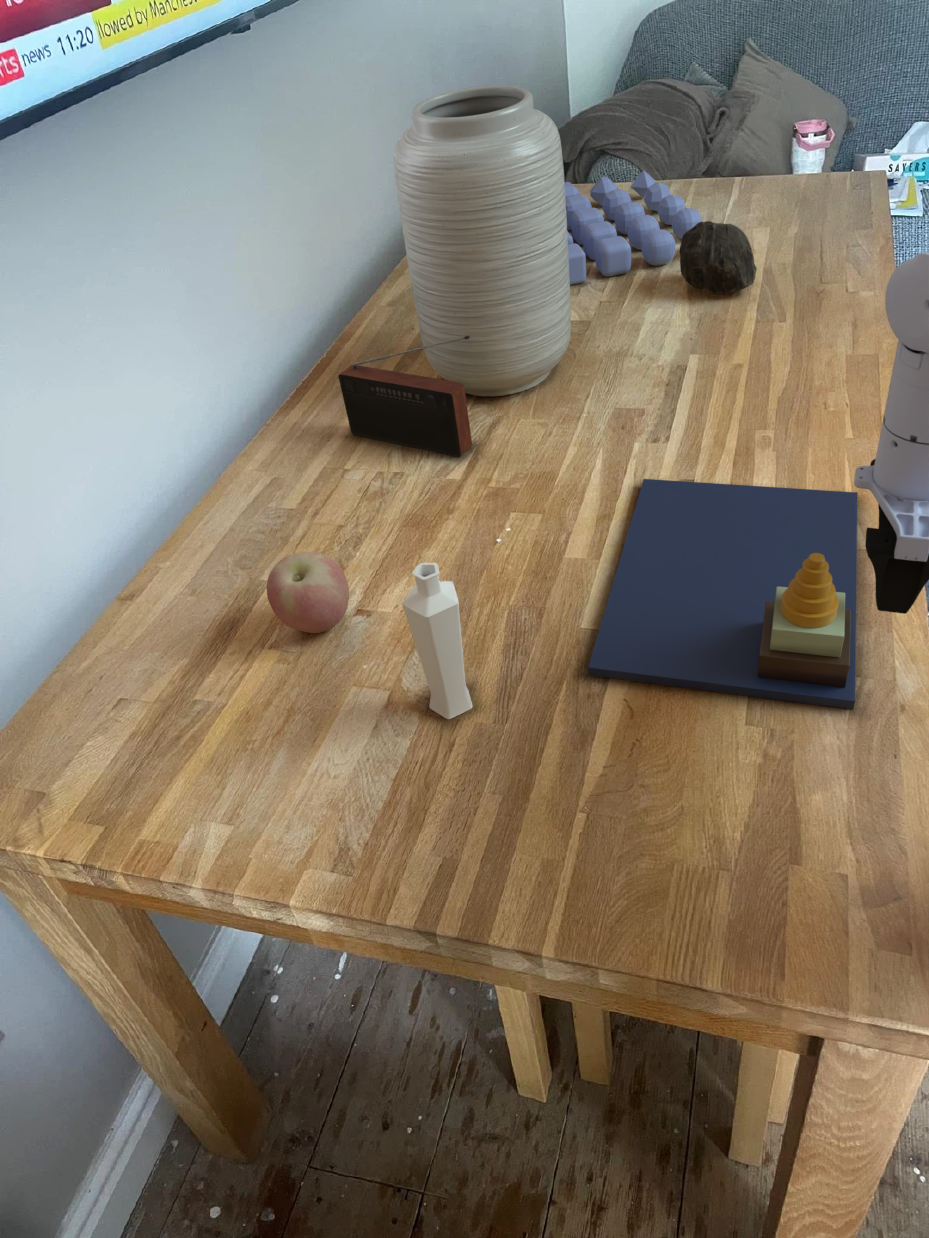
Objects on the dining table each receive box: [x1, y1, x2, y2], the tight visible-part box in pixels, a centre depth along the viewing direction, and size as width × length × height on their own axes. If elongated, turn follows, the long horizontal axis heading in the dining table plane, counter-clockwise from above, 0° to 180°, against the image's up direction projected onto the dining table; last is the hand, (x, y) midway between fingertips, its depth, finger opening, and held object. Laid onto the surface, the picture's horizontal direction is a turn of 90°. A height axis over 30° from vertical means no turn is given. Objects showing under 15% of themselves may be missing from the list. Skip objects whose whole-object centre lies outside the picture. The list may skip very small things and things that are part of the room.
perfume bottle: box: [401, 562, 474, 720], centre depth 78 cm, size 5×4×15 cm
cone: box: [781, 553, 839, 628], centre depth 76 cm, size 4×4×6 cm
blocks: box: [564, 169, 703, 286], centre depth 159 cm, size 35×34×5 cm
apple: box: [266, 551, 350, 634], centre depth 91 cm, size 8×8×8 cm
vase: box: [393, 84, 572, 398], centre depth 118 cm, size 20×20×34 cm
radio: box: [337, 336, 473, 458], centre depth 112 cm, size 19×3×15 cm, turn 60°
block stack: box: [757, 586, 851, 688], centre depth 79 cm, size 7×7×5 cm
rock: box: [678, 220, 758, 296], centre depth 138 cm, size 10×11×10 cm
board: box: [587, 478, 858, 710], centre depth 90 cm, size 30×22×1 cm
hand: (892, 577), depth 73 cm, fingers open, 7 cm apart
